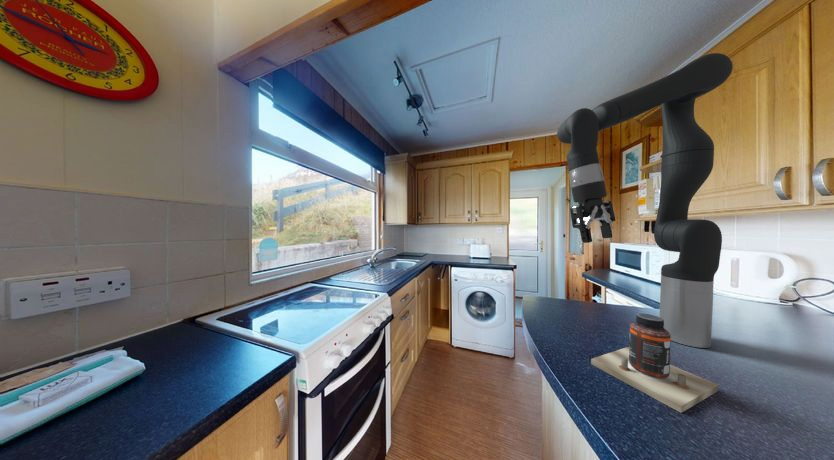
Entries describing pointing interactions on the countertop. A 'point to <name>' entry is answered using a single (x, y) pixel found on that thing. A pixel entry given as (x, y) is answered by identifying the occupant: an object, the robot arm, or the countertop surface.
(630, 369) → the pin board
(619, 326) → the countertop surface
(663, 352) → the supplement bottle
